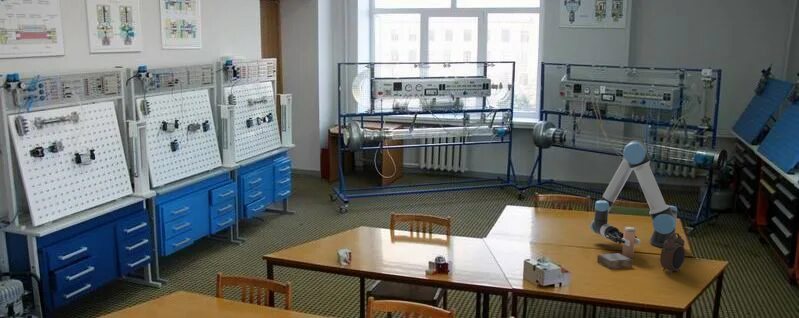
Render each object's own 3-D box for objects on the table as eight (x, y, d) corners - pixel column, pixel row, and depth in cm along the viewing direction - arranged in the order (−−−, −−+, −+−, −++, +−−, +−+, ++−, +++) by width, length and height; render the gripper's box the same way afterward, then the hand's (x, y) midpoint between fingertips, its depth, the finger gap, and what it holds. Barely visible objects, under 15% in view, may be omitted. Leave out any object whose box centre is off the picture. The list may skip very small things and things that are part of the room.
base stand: (618, 260, 383) (619, 252, 382) (631, 266, 372) (632, 259, 371) (597, 261, 379) (597, 254, 378) (610, 268, 368) (610, 261, 367)
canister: (629, 254, 393) (631, 226, 390) (635, 257, 387) (637, 229, 385) (619, 255, 391) (621, 227, 389) (626, 258, 385) (628, 229, 383)
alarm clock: (670, 276, 358) (674, 237, 354) (657, 272, 363) (660, 234, 360) (686, 270, 367) (689, 232, 363) (673, 267, 372) (676, 229, 369)
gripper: (624, 237, 408) (649, 248, 386) (594, 239, 402) (618, 251, 381) (624, 224, 407) (650, 235, 385) (595, 226, 401) (619, 237, 379)
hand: (634, 243), depth 383 cm, fingers closed on canister, 6 cm apart
